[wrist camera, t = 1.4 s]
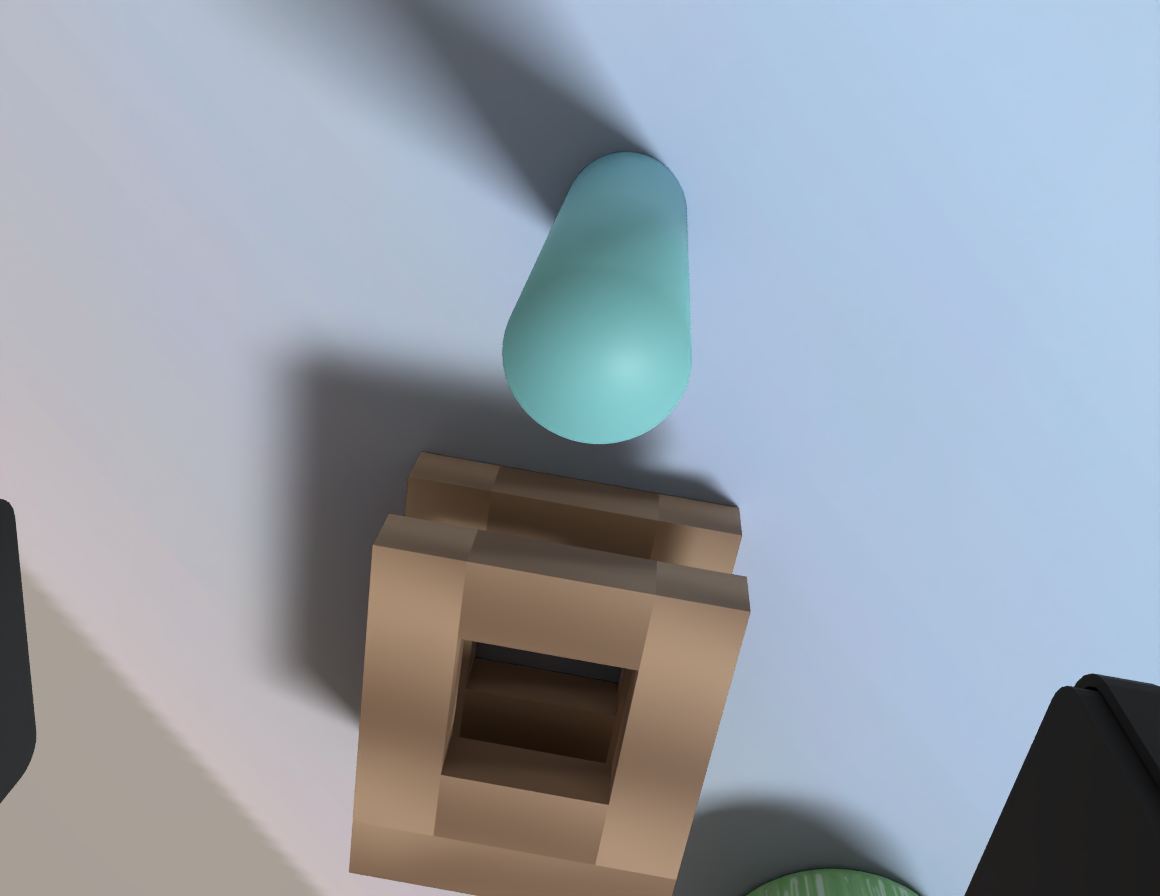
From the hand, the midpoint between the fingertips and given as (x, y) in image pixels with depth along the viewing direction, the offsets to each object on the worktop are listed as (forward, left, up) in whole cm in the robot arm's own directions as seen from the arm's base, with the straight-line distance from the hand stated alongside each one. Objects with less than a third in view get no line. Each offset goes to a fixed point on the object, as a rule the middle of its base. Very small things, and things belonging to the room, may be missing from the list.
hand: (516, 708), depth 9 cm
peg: (0, 0, -18) cm, 18 cm away
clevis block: (+12, 0, -18) cm, 21 cm away
